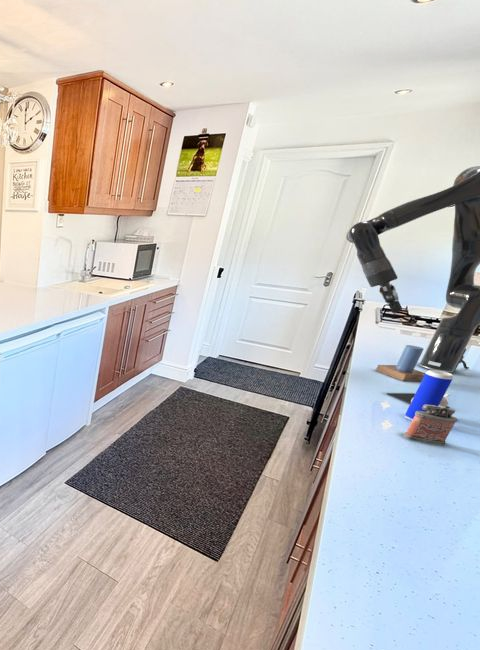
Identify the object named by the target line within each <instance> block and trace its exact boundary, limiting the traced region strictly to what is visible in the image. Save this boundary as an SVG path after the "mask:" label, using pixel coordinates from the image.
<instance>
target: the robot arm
mask: <svg viewBox="0 0 480 650" xmlns="http://www.w3.org/2000/svg"><path fill="white" fill-rule="evenodd" d="M452 206H454V218H453V219H454V221H453V233H452V244H451V263H450V264H451V265H450V271H449V272H450V273H449V279H448V283H447V288H446V291H445V302H446V304H447V305H448V306H449V307H452V308H455V309H459V311H458V313H456V315H453V316H445V317H442V318H441V320H440V321H439V324H438V325H437V328H436V330H434V331H435V332H434V334H433V336H432V338H431V339H430V341H429V344H428V346H427V348H426V350H425V352H424V354H423V356H422V358H421V360H420V362H419V364H418V366H419V367H421V368H423V369H426V370H439V371H444V372H447V373H450V374H452V373H454V372H456V370H457V368H458V366H459V365H460V364H461V363H462V365H463V368H464V369H465V370H469V369H470V367H469V366H467V363H466V361H465V360H464V358H465V356H464V355H465V353H466V351H467V347H468V344H469V342H470V340H471V339H472V337H473V335H474V333H475V331H476V329H477V327H478V326H480V285H478V284H475V273H476V270H477V269H478V267H479V266H480V165H477V166H470V167H467V168H466V169H464V170H462V171H461V172H460V173H459V174H458V175H457V176H456V177H455V179H454V181H453V184H452V186H450V187H448V188H446V189H443V190H441V191H438V192H435V193H432V194H428V195H425V196H422V197H418V198H416V199H413V200H410V201H406V202H404V203H402V204H399V205H397V206H395V207H393V208H391V209H388V210H386V211H383V212H382V213H380V214H379V215H377V216H376V217H373V218H371V219H369V220H367V221H366V220H365V221H359V222H357V223H355V224H353V225H352V226H351V227H350V228H349V229H348V230H347V232H346V234H345V237H346V238H345V239H346V240H347V242H349V243H351V244H354V247H355V249H356V257H357V259H358V261H359V263H360V265H361V268H362V272H363V274H364V277H365V278H366V280H367V283H368V284H369V287H371V288H374V287H378V286H379V290H378V291H379V294H380V295H381V296H382V299H383V300H384V302H385V303H386V304H387V305H388V307H389V308H390V311H391V313H393V314H396V313H399V312H401V311H402V310H403V307H402V305H401V303H400V300H399V299H400V298H399V294H398V292H397V288H396V286H395V285H393V284H392V283H391V282H392V281H396V280H398V275H397V274H396V273H397V272H396V271H395V269H394V266H393V264H392V263H391V261H390V259H389V258H388V257H387V255H386V252H385V250H384V249H383V247H382V245H381V242H380V238H379V235H381V234H384V233H385V232H388V231H391V230H393V229H396V228H399V227H401V226H404V225H407V224H408V223H410V222H412V221H415V220H418V219H420V218H423V217H425V216H428V215H429V214H433V213H435V212H438V211H440V210H444V209H446V208H449V207H452Z"/></svg>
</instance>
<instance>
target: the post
mask: <svg viewBox="0 0 480 650" xmlns="http://www.w3.org/2000/svg"><path fill="white" fill-rule="evenodd" d="M423 351H424V347H422V346H417V345H412V344H411V345H410V344H406V345H405V347H404V349H403V350H402V353H401V355H400V357H399V360H398V362H397V364H396V365H397V366H396V369H398V370H401V371H405V372H413V370H414V369H415V368H416V366H417V364H418V362H419V360H420V358H421V356H422V353H423Z"/></svg>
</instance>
